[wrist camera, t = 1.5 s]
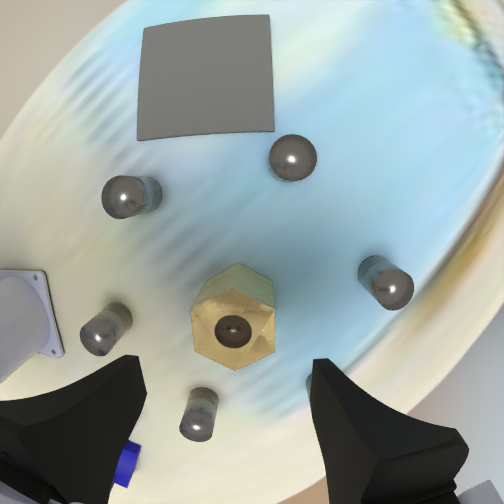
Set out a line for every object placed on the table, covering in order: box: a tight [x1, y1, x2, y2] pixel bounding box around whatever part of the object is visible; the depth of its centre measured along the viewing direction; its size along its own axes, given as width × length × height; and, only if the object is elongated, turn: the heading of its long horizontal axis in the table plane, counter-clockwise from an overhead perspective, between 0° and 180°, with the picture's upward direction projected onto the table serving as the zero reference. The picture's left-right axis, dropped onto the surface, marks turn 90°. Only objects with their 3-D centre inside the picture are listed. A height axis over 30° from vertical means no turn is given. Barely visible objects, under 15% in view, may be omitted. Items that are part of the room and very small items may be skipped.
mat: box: [137, 15, 274, 141], centre depth 17 cm, size 9×9×1 cm
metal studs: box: [80, 134, 414, 442], centre depth 19 cm, size 21×20×4 cm
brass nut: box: [190, 263, 275, 371], centre depth 18 cm, size 4×5×5 cm
